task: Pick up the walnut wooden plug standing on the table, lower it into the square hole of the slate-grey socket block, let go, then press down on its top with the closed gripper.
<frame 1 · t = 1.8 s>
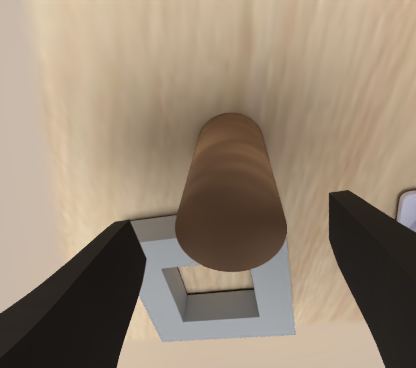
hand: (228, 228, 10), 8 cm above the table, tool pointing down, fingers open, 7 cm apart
plug: (230, 145, 17), on the table
socket block: (214, 267, 22), on the table
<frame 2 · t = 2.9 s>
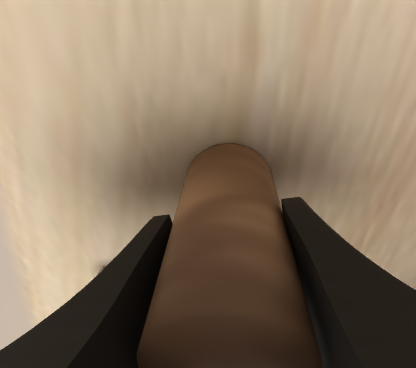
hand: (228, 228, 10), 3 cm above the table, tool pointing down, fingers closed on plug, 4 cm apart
plug: (228, 184, 13), on the table, touching gripper
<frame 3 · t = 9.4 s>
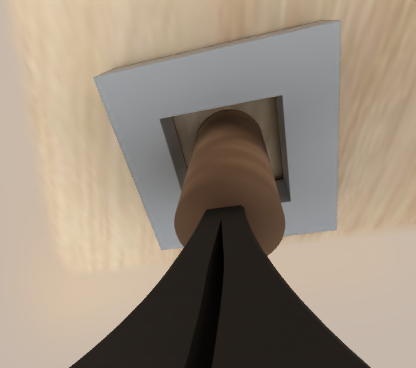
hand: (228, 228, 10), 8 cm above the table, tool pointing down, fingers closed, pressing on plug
plug: (229, 142, 17), resting in socket block, touching gripper
socket block: (229, 144, 17), on the table
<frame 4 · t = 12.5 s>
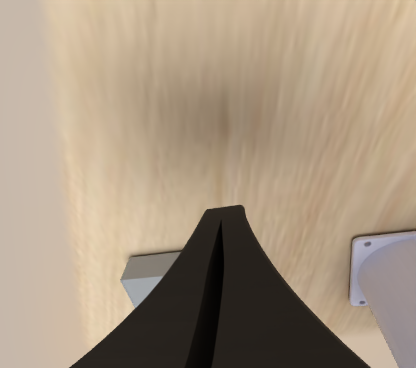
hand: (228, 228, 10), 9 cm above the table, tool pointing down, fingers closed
socket block: (204, 293, 26), on the table
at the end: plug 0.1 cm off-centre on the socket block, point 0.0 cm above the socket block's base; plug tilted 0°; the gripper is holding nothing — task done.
